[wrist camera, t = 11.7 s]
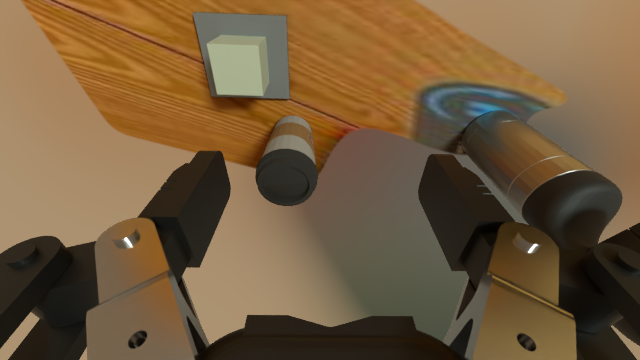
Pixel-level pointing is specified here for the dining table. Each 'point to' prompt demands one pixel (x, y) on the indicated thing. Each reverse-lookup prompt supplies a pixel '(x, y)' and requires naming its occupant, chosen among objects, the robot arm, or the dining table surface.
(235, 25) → the slate board
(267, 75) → the sage block
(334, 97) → the dining table surface
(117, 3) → the dining table surface
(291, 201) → the coffee cup
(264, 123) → the dining table surface
